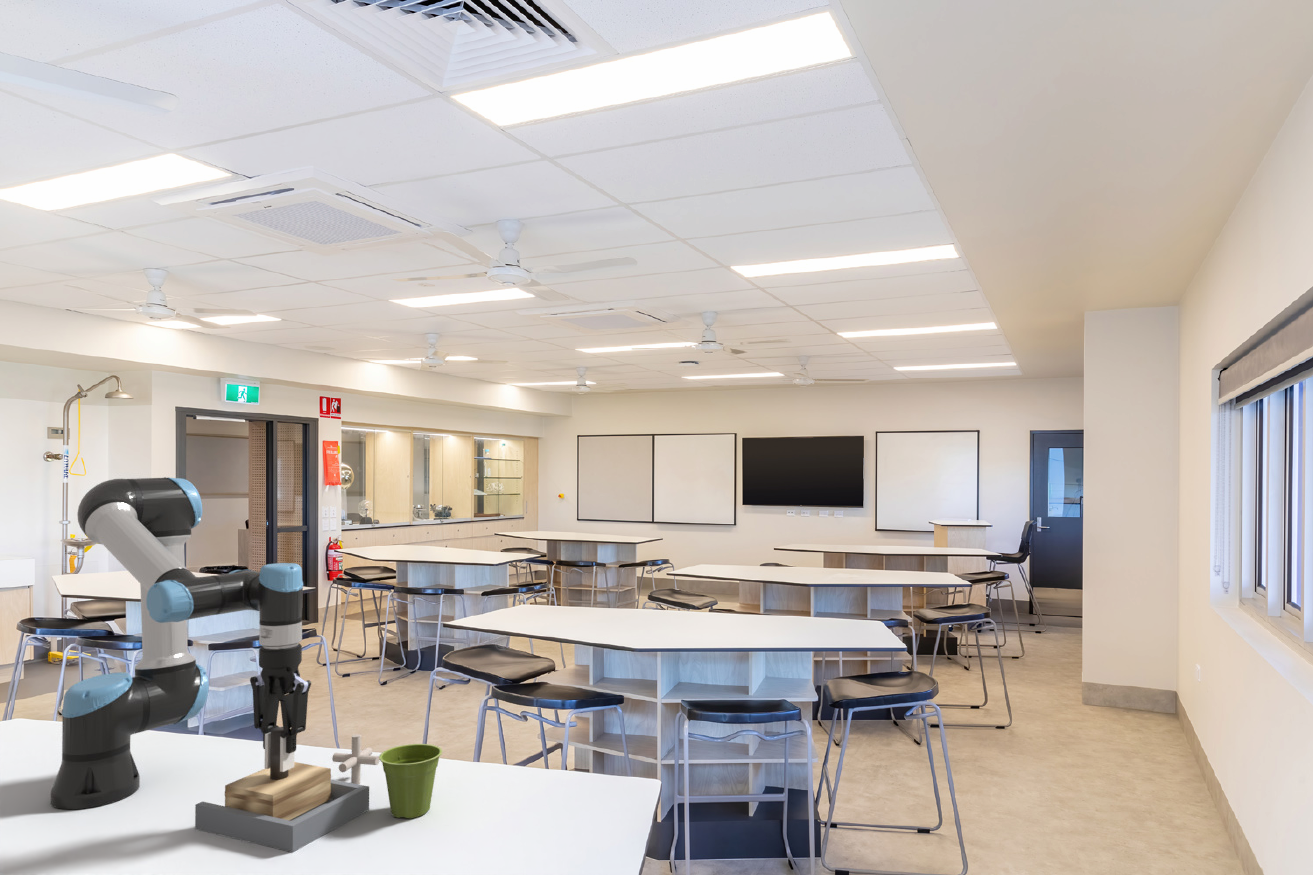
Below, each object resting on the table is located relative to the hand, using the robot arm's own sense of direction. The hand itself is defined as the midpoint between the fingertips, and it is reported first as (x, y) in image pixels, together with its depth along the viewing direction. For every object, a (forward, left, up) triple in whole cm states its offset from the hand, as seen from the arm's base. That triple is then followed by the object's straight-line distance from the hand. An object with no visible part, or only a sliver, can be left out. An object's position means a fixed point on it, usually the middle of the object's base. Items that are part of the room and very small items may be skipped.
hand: (279, 767), depth 159 cm
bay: (+1, 0, -10) cm, 10 cm away
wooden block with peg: (0, 0, -8) cm, 8 cm away
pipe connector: (+1, +19, -10) cm, 21 cm away
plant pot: (+21, +12, -10) cm, 26 cm away
